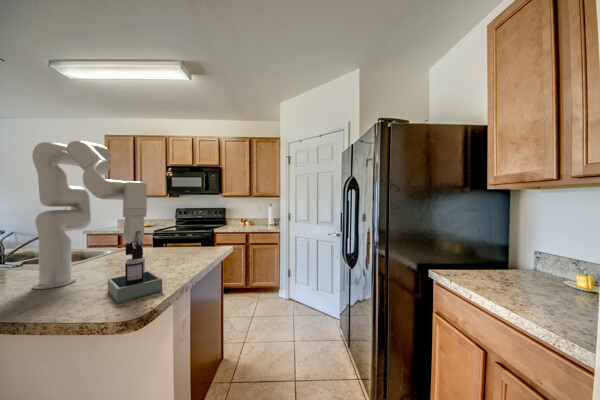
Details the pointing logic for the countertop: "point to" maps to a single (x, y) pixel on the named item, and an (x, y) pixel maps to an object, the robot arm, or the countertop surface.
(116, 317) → the countertop surface
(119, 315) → the countertop surface
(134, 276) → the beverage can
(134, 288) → the box
